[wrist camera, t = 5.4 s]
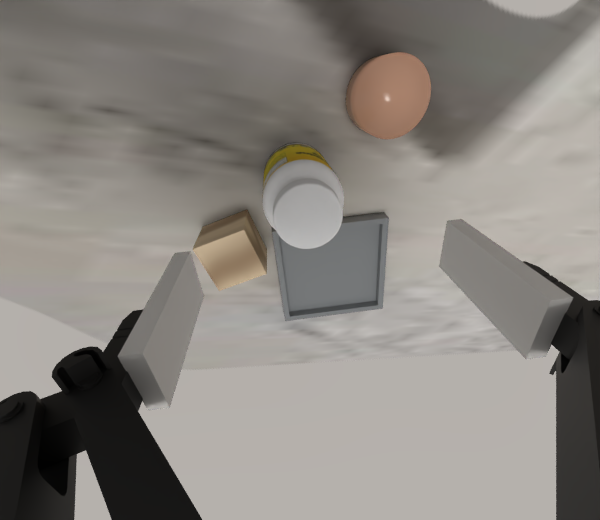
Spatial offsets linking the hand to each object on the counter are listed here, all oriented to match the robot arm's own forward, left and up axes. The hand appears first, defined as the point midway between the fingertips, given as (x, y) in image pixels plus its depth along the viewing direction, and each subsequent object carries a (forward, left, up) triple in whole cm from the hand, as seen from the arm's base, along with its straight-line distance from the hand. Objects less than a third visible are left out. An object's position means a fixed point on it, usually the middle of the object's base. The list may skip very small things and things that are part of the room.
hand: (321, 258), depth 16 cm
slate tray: (+11, +3, -16) cm, 20 cm away
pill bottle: (0, 0, -16) cm, 16 cm away
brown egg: (-6, +8, -16) cm, 19 cm away
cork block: (+6, -7, -16) cm, 19 cm away
